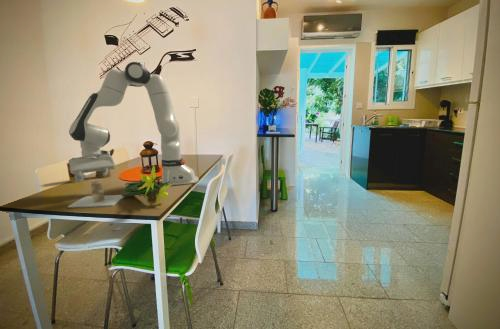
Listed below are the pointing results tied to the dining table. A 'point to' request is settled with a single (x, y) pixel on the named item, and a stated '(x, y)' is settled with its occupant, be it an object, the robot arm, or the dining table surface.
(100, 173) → the wooden mug
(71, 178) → the canned food
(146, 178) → the daffodil flowers
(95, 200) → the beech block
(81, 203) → the grey-blue mat
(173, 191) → the dining table surface
